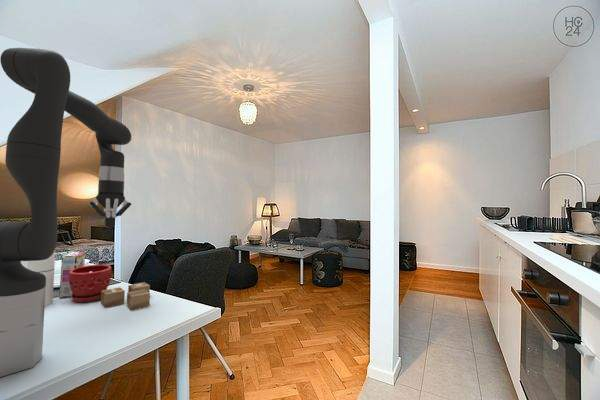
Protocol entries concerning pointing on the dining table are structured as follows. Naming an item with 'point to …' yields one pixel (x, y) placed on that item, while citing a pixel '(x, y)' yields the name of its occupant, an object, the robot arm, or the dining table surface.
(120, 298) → the marked walnut block bar
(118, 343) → the dining table surface
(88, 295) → the plant pot
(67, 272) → the candy bar box
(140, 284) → the cube with circle marking
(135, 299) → the plain walnut block
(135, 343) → the dining table surface
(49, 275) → the cylindrical container
